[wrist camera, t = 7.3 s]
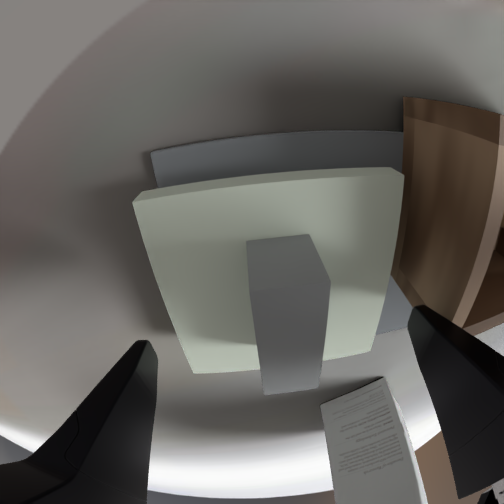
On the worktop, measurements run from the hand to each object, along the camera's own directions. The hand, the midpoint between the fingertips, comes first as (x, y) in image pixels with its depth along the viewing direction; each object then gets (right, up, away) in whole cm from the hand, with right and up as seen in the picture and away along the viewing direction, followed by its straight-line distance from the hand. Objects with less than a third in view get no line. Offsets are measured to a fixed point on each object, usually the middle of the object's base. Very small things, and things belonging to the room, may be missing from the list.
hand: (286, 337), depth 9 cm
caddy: (+9, +6, +2) cm, 11 cm away
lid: (0, +2, +3) cm, 4 cm away
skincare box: (+8, -11, +12) cm, 18 cm away
